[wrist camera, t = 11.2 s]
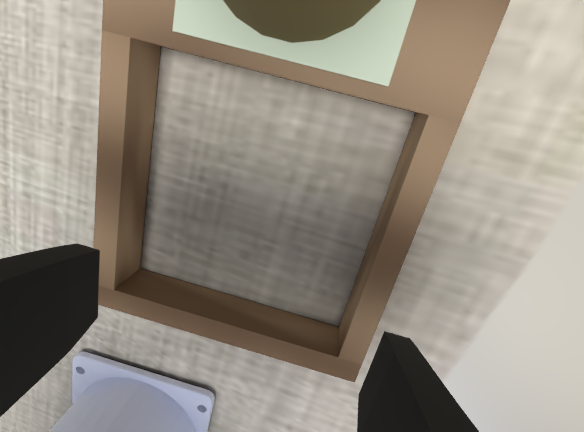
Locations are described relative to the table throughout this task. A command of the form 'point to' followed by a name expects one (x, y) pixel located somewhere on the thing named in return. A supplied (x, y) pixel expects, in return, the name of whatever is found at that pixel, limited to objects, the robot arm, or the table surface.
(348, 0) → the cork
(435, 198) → the table surface
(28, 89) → the table surface
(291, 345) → the well board
